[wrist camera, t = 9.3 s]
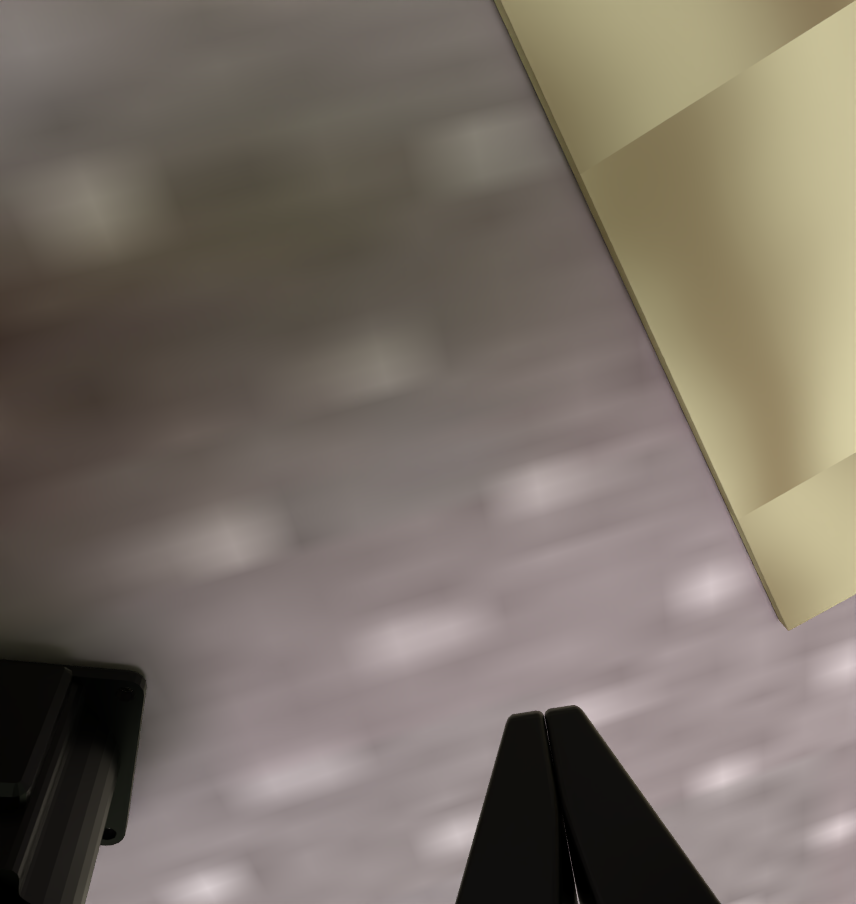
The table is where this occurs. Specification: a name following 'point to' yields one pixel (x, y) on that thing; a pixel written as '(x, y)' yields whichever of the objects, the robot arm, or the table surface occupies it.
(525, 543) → the table surface
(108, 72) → the table surface
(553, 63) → the board
